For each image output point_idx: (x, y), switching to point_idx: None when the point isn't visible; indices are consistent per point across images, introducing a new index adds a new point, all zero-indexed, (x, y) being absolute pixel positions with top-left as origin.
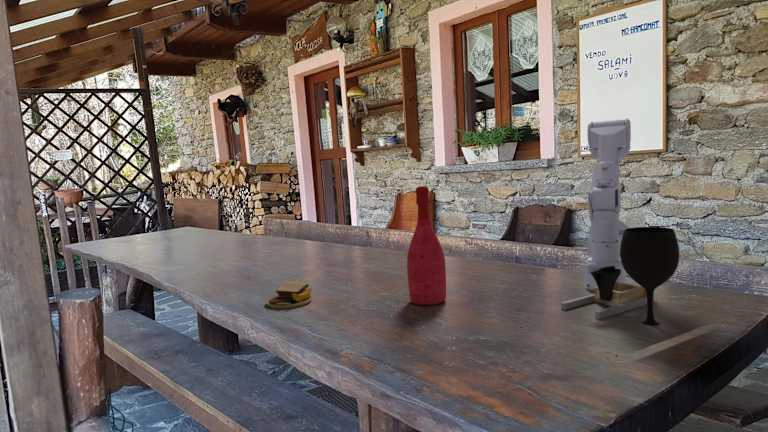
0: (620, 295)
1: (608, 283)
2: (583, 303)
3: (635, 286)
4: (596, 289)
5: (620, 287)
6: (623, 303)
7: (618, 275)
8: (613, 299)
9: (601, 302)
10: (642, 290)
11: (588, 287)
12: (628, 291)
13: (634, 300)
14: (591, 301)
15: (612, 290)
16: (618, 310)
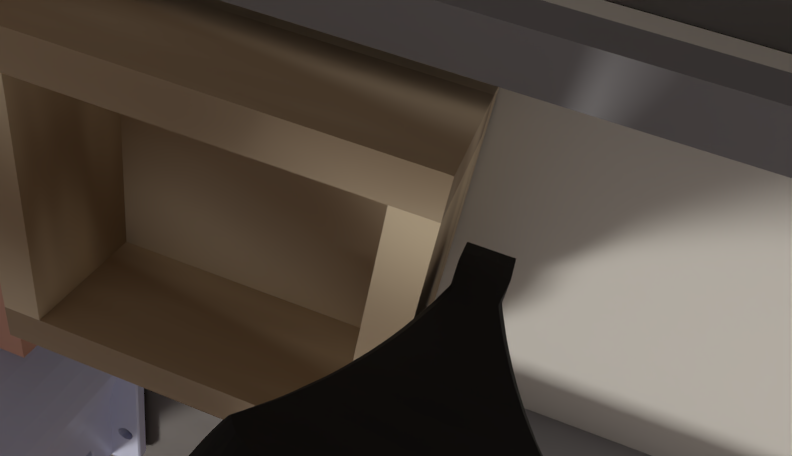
0: (460, 175)
1: (530, 437)
2: (550, 428)
3: (8, 113)
4: None
5: (67, 261)
6: (530, 81)
7: (293, 417)
8: (449, 226)
9: None
10: (12, 5)
11: (95, 452)
12: (292, 121)
13: (306, 3)
14: None
15: (443, 307)
16: (739, 70)
